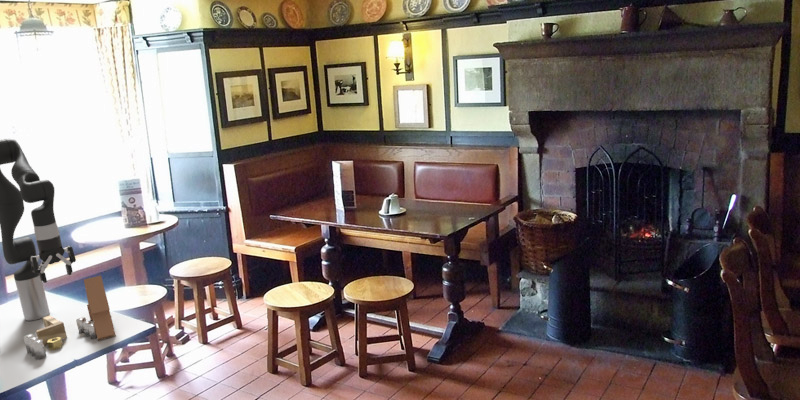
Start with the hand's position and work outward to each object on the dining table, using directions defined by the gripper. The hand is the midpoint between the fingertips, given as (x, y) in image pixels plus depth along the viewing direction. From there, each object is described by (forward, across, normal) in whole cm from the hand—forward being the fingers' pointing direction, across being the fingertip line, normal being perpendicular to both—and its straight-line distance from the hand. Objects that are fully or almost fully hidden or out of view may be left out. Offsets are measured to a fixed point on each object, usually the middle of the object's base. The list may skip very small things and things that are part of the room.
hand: (57, 278), depth 236 cm
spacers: (+24, +4, +3) cm, 24 cm away
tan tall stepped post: (+24, -12, 0) cm, 27 cm away
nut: (+24, +7, +4) cm, 25 cm away
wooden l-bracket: (+24, +5, -9) cm, 26 cm away
